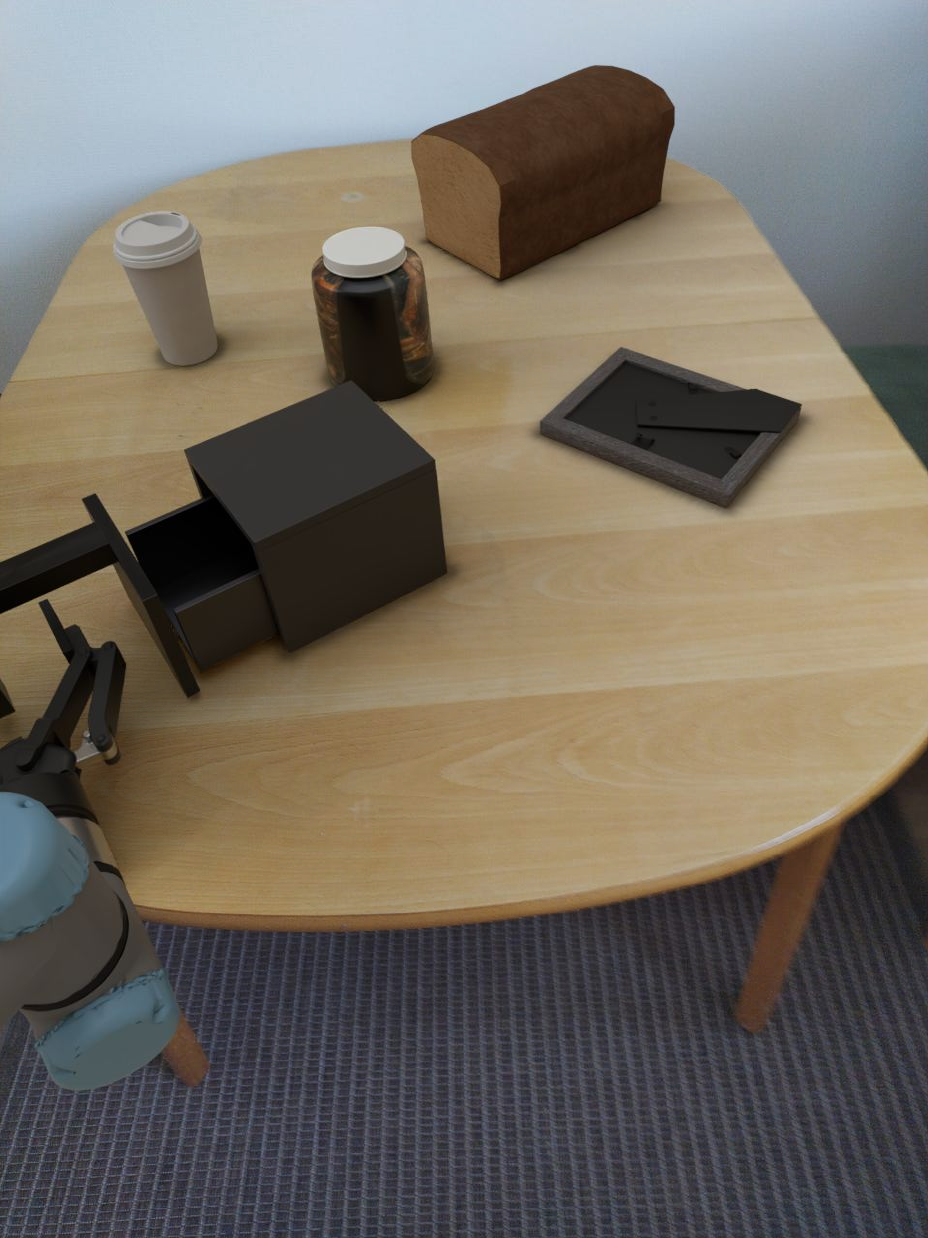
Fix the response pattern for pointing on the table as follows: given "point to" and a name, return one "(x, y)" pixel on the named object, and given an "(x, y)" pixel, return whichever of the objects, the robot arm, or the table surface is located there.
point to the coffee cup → (169, 283)
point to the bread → (544, 168)
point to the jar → (373, 312)
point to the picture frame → (673, 424)
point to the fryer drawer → (160, 582)
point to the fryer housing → (328, 508)
